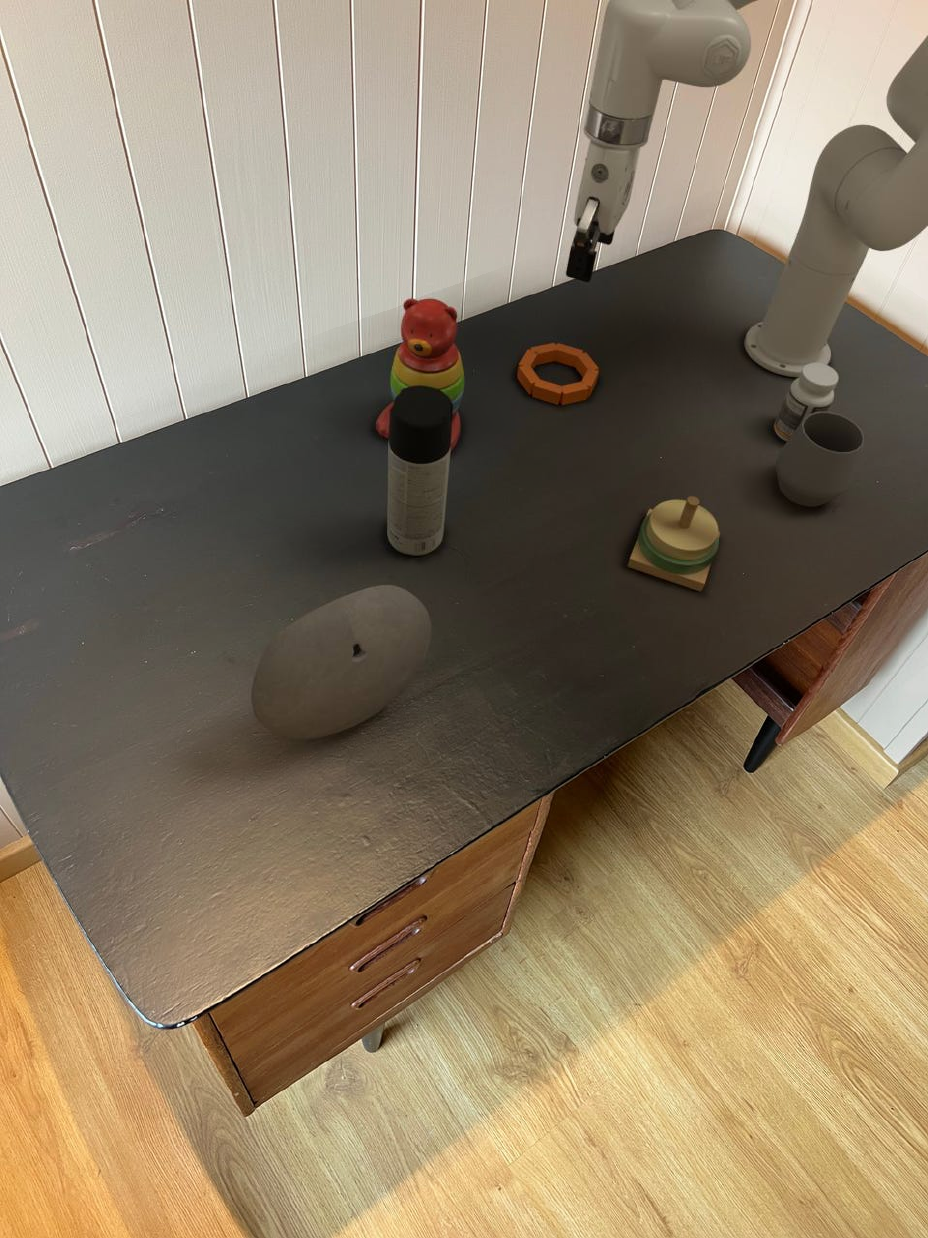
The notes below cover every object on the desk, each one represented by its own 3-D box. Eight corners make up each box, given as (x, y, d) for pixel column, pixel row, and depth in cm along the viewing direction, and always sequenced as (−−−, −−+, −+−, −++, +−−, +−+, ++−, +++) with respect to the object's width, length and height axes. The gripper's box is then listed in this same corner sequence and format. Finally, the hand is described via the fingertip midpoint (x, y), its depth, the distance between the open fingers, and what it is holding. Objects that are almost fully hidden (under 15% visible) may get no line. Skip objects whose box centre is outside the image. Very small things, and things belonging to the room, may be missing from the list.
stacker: (645, 516, 113) (663, 462, 106) (718, 539, 111) (741, 486, 104) (626, 567, 108) (643, 514, 100) (701, 592, 106) (725, 541, 99)
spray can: (451, 525, 110) (463, 392, 94) (431, 565, 106) (440, 433, 90) (399, 509, 110) (403, 375, 95) (378, 548, 106) (378, 414, 91)
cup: (854, 498, 118) (888, 440, 110) (807, 528, 114) (839, 469, 106) (797, 456, 122) (827, 396, 114) (751, 483, 118) (778, 423, 110)
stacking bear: (370, 433, 118) (369, 314, 104) (402, 389, 124) (405, 270, 110) (446, 459, 116) (456, 342, 102) (476, 413, 122) (488, 295, 108)
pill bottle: (811, 421, 126) (839, 362, 119) (816, 449, 123) (846, 390, 115) (770, 416, 127) (796, 356, 119) (774, 444, 123) (801, 384, 115)
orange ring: (533, 347, 132) (535, 335, 130) (603, 368, 130) (606, 357, 129) (508, 389, 126) (510, 377, 124) (581, 412, 124) (584, 400, 122)
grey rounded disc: (408, 655, 98) (413, 537, 83) (443, 704, 94) (455, 590, 79) (248, 731, 91) (222, 617, 76) (279, 787, 87) (259, 679, 72)
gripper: (630, 161, 98) (598, 302, 111) (668, 100, 108) (634, 235, 122) (564, 143, 99) (540, 285, 112) (607, 84, 109) (580, 220, 123)
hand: (589, 259), depth 117 cm, fingers open, 9 cm apart
